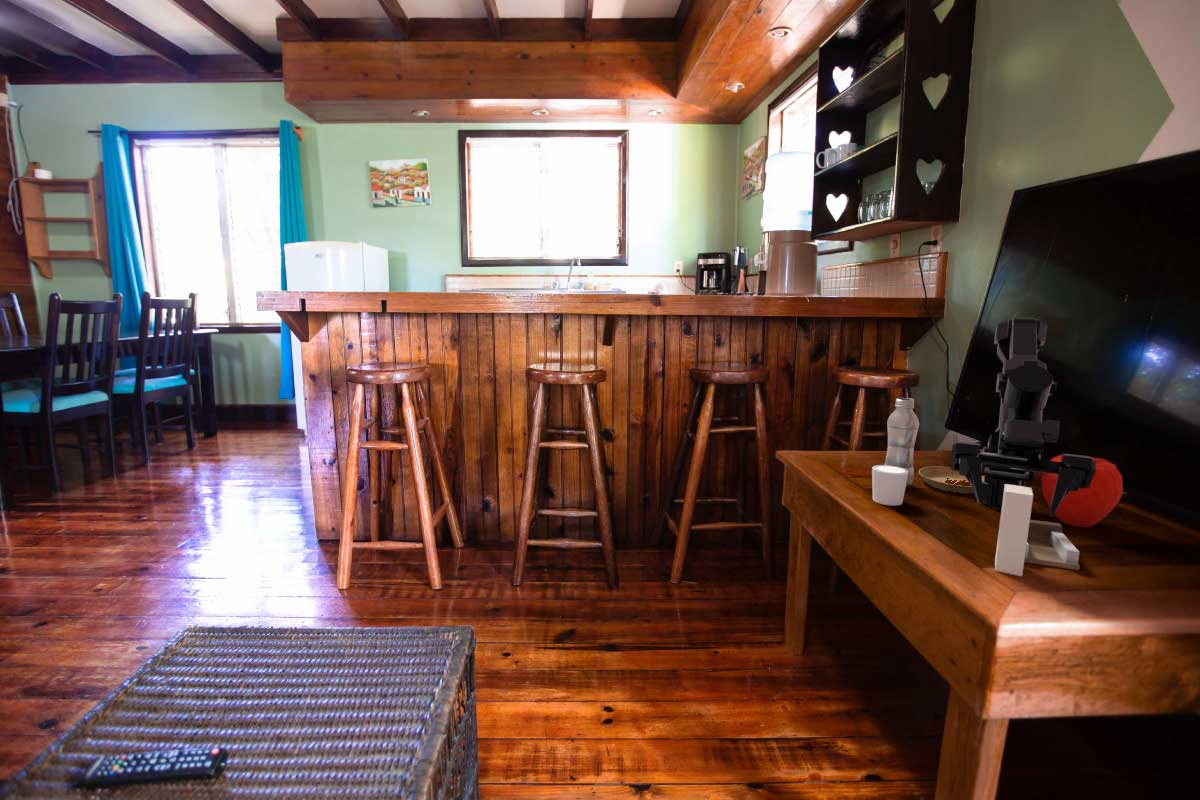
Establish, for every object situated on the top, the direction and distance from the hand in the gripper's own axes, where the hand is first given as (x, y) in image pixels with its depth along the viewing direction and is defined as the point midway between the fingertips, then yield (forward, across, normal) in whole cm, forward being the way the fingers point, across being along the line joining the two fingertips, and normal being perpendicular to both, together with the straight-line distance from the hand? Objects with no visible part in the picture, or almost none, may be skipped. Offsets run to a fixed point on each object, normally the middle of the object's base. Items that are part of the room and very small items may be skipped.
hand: (1015, 509), depth 90 cm
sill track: (+1, +4, +13) cm, 13 cm away
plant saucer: (-23, -9, +37) cm, 44 cm away
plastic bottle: (-18, -20, +32) cm, 42 cm away
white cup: (-9, -20, +23) cm, 32 cm away
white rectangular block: (+7, 0, +6) cm, 10 cm away
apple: (-14, +11, +27) cm, 32 cm away
